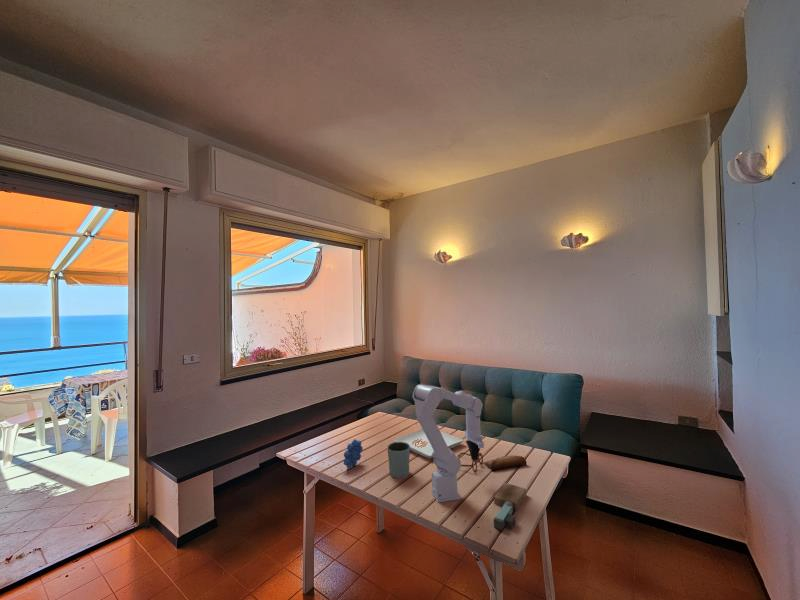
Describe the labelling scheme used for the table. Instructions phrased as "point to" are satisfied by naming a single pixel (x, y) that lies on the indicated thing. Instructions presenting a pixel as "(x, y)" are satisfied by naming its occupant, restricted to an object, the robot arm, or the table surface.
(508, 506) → the stool leg
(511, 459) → the sunglasses case
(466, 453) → the glasses
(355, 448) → the grapes
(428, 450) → the square plate
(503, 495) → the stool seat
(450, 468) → the robot arm
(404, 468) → the green cup
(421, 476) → the table surface
